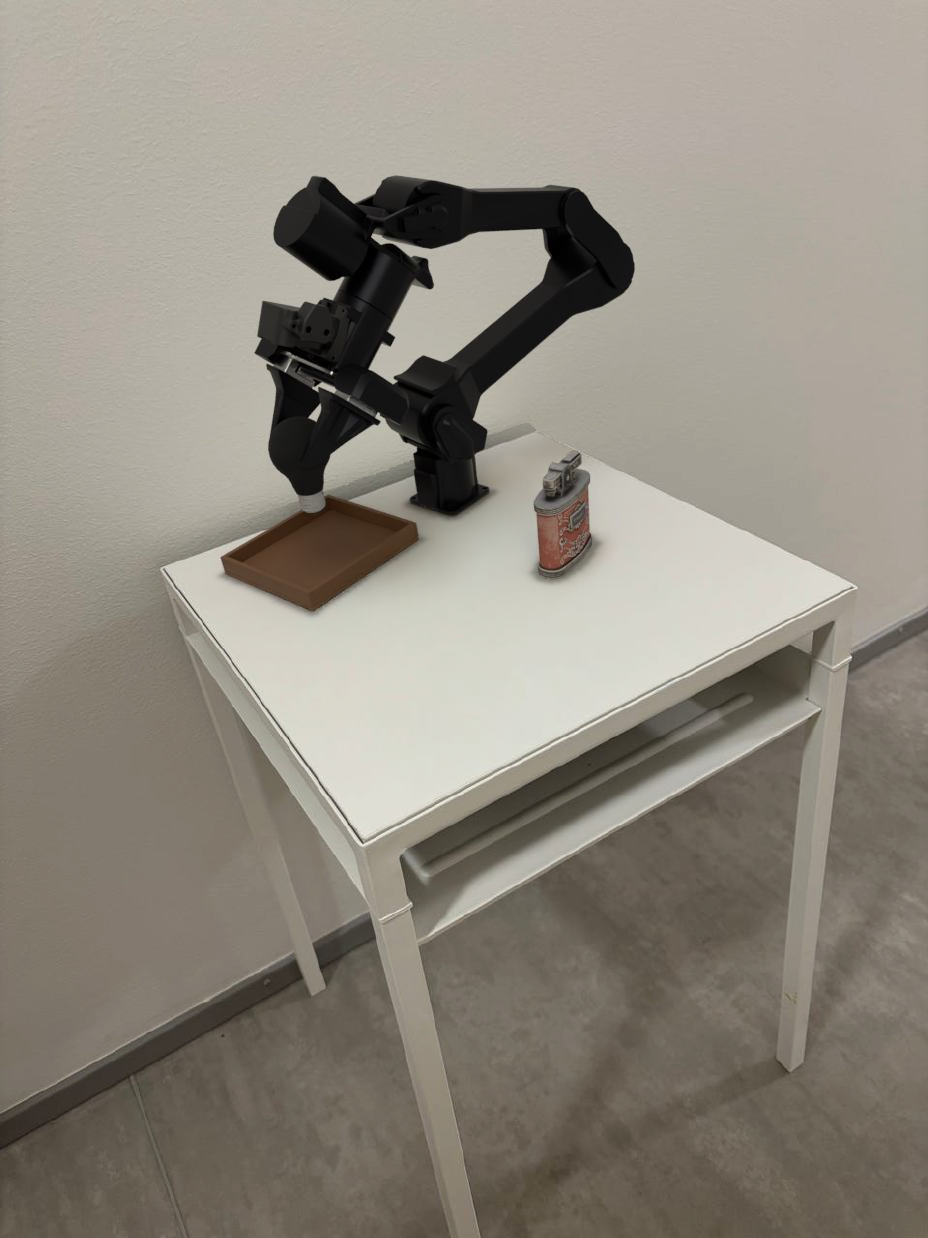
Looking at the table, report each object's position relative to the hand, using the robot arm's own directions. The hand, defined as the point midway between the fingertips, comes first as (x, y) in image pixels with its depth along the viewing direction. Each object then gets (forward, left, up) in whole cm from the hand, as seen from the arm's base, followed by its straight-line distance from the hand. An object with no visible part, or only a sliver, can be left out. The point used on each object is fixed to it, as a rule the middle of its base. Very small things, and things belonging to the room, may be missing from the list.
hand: (288, 458), depth 89 cm
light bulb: (-1, 0, -7) cm, 7 cm away
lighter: (-13, +22, -12) cm, 28 cm away
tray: (-1, 0, -11) cm, 12 cm away
